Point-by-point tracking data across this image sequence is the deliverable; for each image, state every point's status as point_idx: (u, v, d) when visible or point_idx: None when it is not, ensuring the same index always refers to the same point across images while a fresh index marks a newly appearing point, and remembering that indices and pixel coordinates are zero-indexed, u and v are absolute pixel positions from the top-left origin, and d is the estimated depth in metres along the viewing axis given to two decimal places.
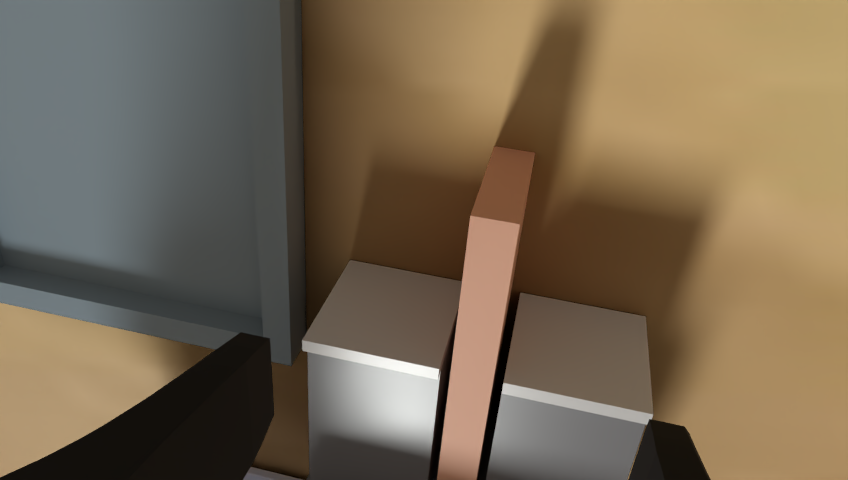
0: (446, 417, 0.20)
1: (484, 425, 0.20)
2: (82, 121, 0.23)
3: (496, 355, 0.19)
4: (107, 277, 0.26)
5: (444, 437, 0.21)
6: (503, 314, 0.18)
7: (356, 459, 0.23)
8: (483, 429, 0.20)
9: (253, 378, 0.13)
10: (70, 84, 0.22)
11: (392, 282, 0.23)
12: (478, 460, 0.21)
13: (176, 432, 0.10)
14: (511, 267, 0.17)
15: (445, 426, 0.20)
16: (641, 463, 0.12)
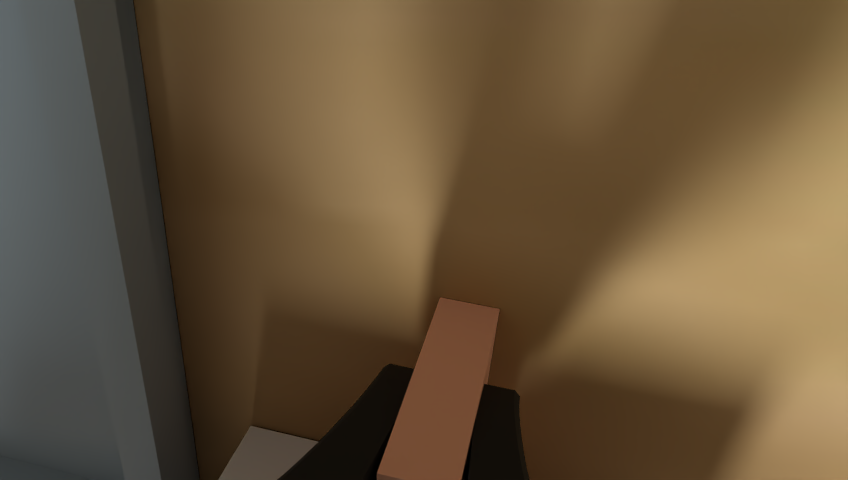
0: None
1: None
2: None
3: None
4: None
5: None
6: None
7: None
8: None
9: None
10: None
11: None
12: None
13: (365, 477, 0.10)
14: None
15: None
16: None
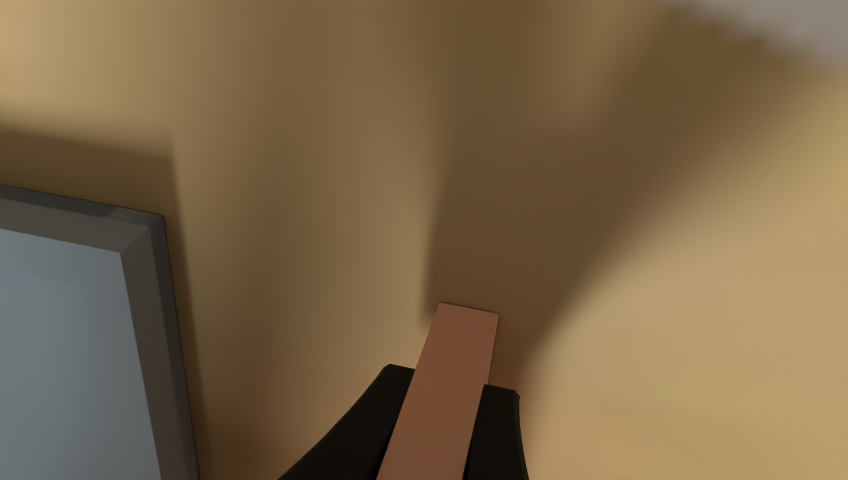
0: None
1: None
2: None
3: None
4: None
5: None
6: None
7: None
8: None
9: None
10: None
11: None
12: None
13: (365, 477, 0.10)
14: None
15: None
16: None
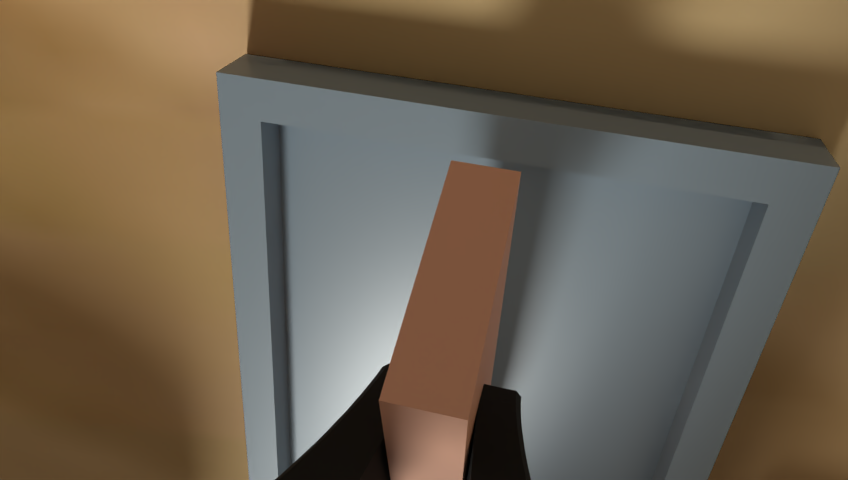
0: None
1: None
2: None
3: None
4: None
5: None
6: None
7: None
8: None
9: None
10: None
11: None
12: None
13: (363, 477, 0.10)
14: (462, 455, 0.10)
15: None
16: None
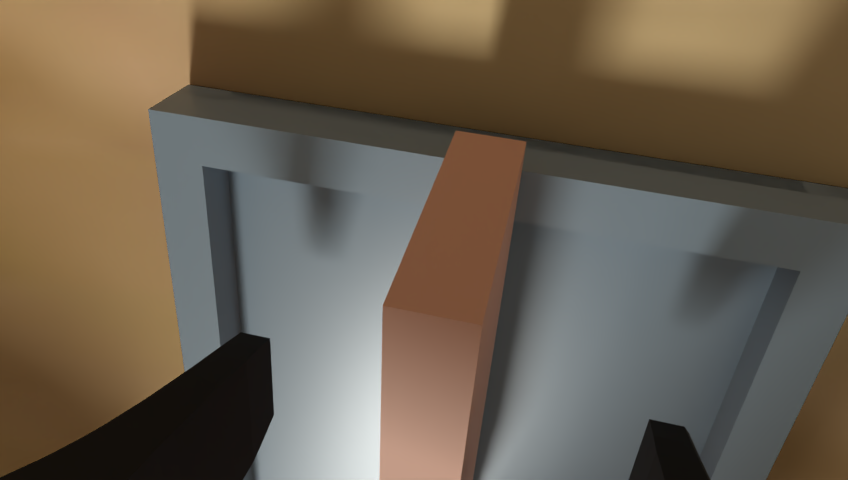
0: None
1: None
2: None
3: None
4: None
5: None
6: (460, 463, 0.10)
7: None
8: None
9: (253, 378, 0.13)
10: None
11: None
12: None
13: (176, 432, 0.10)
14: (469, 395, 0.09)
15: None
16: (641, 463, 0.12)
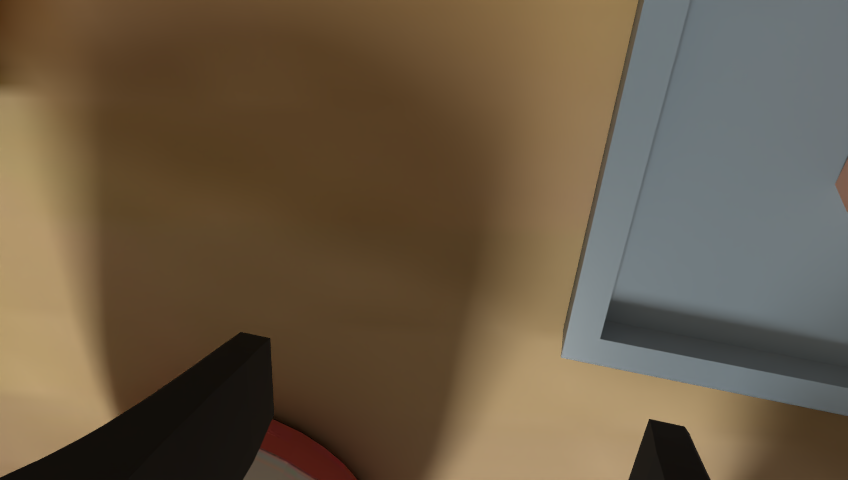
0: None
1: None
2: (837, 150, 0.18)
3: None
4: (750, 337, 0.21)
5: None
6: None
7: None
8: None
9: (253, 378, 0.13)
10: None
11: None
12: None
13: (176, 432, 0.10)
14: None
15: None
16: (641, 463, 0.12)
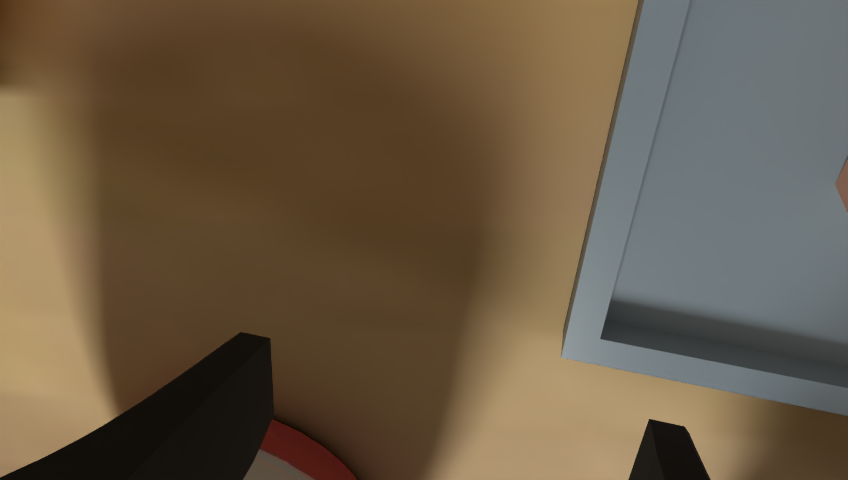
0: None
1: None
2: (837, 150, 0.18)
3: None
4: (750, 337, 0.21)
5: None
6: None
7: None
8: None
9: (253, 378, 0.13)
10: None
11: None
12: None
13: (176, 432, 0.10)
14: None
15: None
16: (641, 463, 0.12)
